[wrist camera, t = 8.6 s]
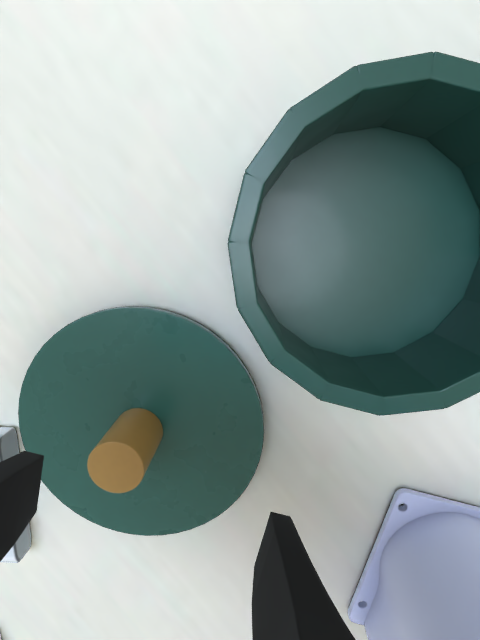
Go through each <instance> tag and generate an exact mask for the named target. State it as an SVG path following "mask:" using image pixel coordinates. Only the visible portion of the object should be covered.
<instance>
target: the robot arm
mask: <svg viewBox="0 0 480 640" xmlns="http://www.w3.org/2000/svg"><path fill="white" fill-rule="evenodd" d="M43 460H44V455H40V454H36V453H32V452H28V451H23V452H21V453H19V454H17V455H14V456H12V457H10V458H8V459H6V460H4V461H1V462H0V561H1V560H2V559H3V558H4V557H5V555H6V554H7V553H8V552H9V551H10V549H11V548H12V547H13V546H14V544H15V543H16V541H17V540H18V538H19V537H20V535H21V534H22V533H23V531H24V530H25V528H26V527H27V525H28V523H29V522H30V520H31V519H32V517H33V516H34V514H35V513H36V510H37V503H38V496H39V489H40V482H41V475H42V468H43ZM402 503H403V504H404V505H403V506H401V507H398V506H399V504H402ZM360 601H362V602H360ZM348 616H349V619H350V620H351V621H352V622H354V623H357V624H361V625H364V626H365V630H366V634H367V637H368V640H480V507H476V506H472V505H469V504H465V503H461V502H457V501H453V500H449V499H445V498H442V497H438V496H434V495H430V494H426V493H422V492H418V491H415V490H411V489H407V488H401V489H399V490H397V491H396V493H395V494H394V497H393V499H392V502H391V504H390V507H389V509H388V512H387V514H386V517H385V519H384V522H383V524H382V527H381V529H380V531H379V534H378V536H377V539H376V541H375V544H374V546H373V549H372V551H371V554H370V556H369V559H368V561H367V564H366V566H365V569H364V571H363V574H362V576H361V579H360V581H359V584H358V586H357V589H356V591H355V594H354V596H353V598H352V601H351V603H350V606H349V608H348ZM252 632H253V640H355V638H354V637H353V635H352V634H351V632H350V631H349V629H348V627H347V626H346V624H345V622H344V621H343V619H342V618H341V616H340V614H339V612H338V611H337V609H336V607H335V605H334V604H333V602H332V600H331V598H330V597H329V595H328V593H327V591H326V589H325V587H324V586H323V584H322V582H321V580H320V578H319V576H318V574H317V572H316V570H315V568H314V566H313V564H312V562H311V560H310V558H309V556H308V554H307V552H306V550H305V547H304V545H303V543H302V541H301V539H300V537H299V534H298V532H297V530H296V528H295V525H294V523H293V521H292V519H291V517H290V516H286V515H282V514H278V513H274V512H271V513H270V516H269V519H268V523H267V526H266V529H265V533H264V536H263V539H262V542H261V546H260V549H259V552H258V556H257V559H256V562H255V566H254V579H253V593H252Z"/></svg>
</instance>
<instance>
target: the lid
mask: <svg viewBox="0 0 480 640" xmlns="http://www.w3.org/2000/svg"><path fill="white" fill-rule="evenodd" d="M18 415H19V427H20V432H21V437H22V441H23V445H24V447H25V450H26V451H28V452H32V453H36V454H40V455H44V460H43V468H42V475H41V480H42V482H43V483H44V484H45V485H46V486H47V488H48V489H49V490H50V491H51V492H52V493H53V494H54V495H55V496H56V497H57V498H58V499H59V500H60V501H61V502H62V503H63V504H65V505H66V506H67V507H69V508H70V509H71V510H73V511H74V512H75V513H77V514H79V515H80V516H82V517H84V518H86V519H87V520H89V521H91V522H93V523H96V524H98V525H100V526H103V527H105V528H109V529H112V530H115V531H118V532H123V533H128V534H135V535H146V536H150V535H167V534H174V533H179V532H183V531H186V530H190V529H193V528H195V527H198V526H200V525H203V524H205V523H207V522H208V521H210V520H212V519H214V518H216V517H217V516H219V515H220V514H221V513H222V512H224V511H225V510H226V509H228V508H229V507H230V506H231V505H232V504H233V503H234V502H235V501H236V500H237V499H238V498H239V497H240V495H241V494H242V493H243V491H244V490H245V489H246V488H247V486H248V484H249V483H250V481H251V479H252V477H253V475H254V474H255V471H256V468H257V466H258V463H259V460H260V456H261V452H262V447H263V436H264V424H263V412H262V407H261V402H260V398H259V395H258V392H257V389H256V387H255V384H254V382H253V380H252V378H251V376H250V374H249V372H248V370H247V369H246V367H245V366H244V364H243V363H242V361H241V360H240V359H239V357H238V356H237V355H236V354H235V353H234V351H233V350H232V349H231V348H230V347H229V346H228V345H227V344H226V343H225V342H224V341H223V340H221V339H220V338H219V337H218V336H217V335H215V334H214V333H213V332H212V331H210V330H208V329H207V328H205V327H204V326H202V325H201V324H199V323H197V322H195V321H193V320H191V319H189V318H187V317H185V316H182V315H179V314H176V313H173V312H170V311H167V310H162V309H157V308H151V307H138V306H129V307H116V308H111V309H106V310H101V311H98V312H95V313H92V314H90V315H87V316H84V317H82V318H80V319H78V320H76V321H74V322H72V323H70V324H68V325H67V326H65V327H64V328H63V329H61V330H60V331H58V332H57V333H56V334H54V335H53V336H52V337H51V338H50V339H49V340H48V341H47V342H46V343H45V344H44V345H43V347H42V348H41V349H40V351H39V352H38V353H37V355H36V356H35V357H34V359H33V361H32V363H31V365H30V366H29V368H28V370H27V373H26V376H25V378H24V381H23V384H22V388H21V393H20V398H19V412H18Z"/></svg>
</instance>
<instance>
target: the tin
mask: <svg viewBox="0 0 480 640" xmlns="http://www.w3.org/2000/svg"><path fill="white" fill-rule="evenodd" d="M228 250H229V257H230V264H231V271H232V278H233V284H234V291H235V298H236V305H237V308H238V311H239V312H240V314H241V316H242V318H243V319H244V321H245V323H246V324H247V326H248V328H249V329H250V331H251V333H252V334H253V336H254V338H255V339H256V341H257V343H258V344H259V346H260V348H261V349H262V351H263V353H264V354H265V356H266V358H267V359H268V361H269V362H270V363H271V364H272V365H273V366H274V367H276V368H277V369H278V370H280V371H281V372H283V373H284V374H285V375H287V376H288V377H289V378H291V379H292V380H293V381H295V382H296V383H297V384H299V385H300V386H301V387H303V388H304V389H306V390H307V391H308V392H310V393H311V394H312V395H314V396H315V397H316V398H318V399H320V400H322V401H325V402H329V403H333V404H337V405H341V406H345V407H348V408H352V409H356V410H360V411H364V412H368V413H371V414H375V415H379V416H380V415H391V414H400V413H409V412H419V411H428V410H438V409H444V408H448V407H450V406H452V405H454V404H456V403H458V402H460V401H462V400H465V399H467V398H469V397H471V396H473V395H475V394H477V393H479V392H480V63H477V62H473V61H469V60H466V59H462V58H458V57H455V56H451V55H447V54H443V53H440V52H434V53H433V52H428V53H423V54H417V55H411V56H406V57H400V58H395V59H389V60H383V61H378V62H372V63H367V64H361V65H358V66H354V67H352V68H351V69H349V70H348V71H346V72H345V73H343V74H341V75H340V76H338V77H337V78H335V79H334V80H332V81H331V82H329V83H328V84H326V85H325V86H323V87H322V88H320V89H318V90H317V91H315V92H314V93H312V94H311V95H309V96H308V97H306V98H305V99H303V100H302V101H300V102H299V103H297V104H296V105H294V106H292V107H291V108H290V109H289V110H288V111H287V112H286V113H285V115H284V116H283V118H282V119H281V121H280V122H279V123H278V125H277V126H276V128H275V129H274V131H273V132H272V133H271V135H270V136H269V138H268V139H267V140H266V142H265V143H264V145H263V146H262V148H261V149H260V150H259V152H258V153H257V155H256V156H255V157H254V159H253V160H252V162H251V163H250V165H249V166H248V167H247V169H246V170H245V174H244V176H243V180H242V184H241V189H240V193H239V197H238V201H237V205H236V209H235V213H234V217H233V221H232V225H231V230H230V234H229V238H228Z"/></svg>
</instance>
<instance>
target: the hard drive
mask: <svg viewBox="0 0 480 640" xmlns="http://www.w3.org/2000/svg"><path fill="white" fill-rule="evenodd" d="M17 454H19V447H18V440H17V433H16V431H15V429H14V428H13V427H0V462H1V461H4V460H6V459H8V458H10V457H12V456H14V455H17ZM30 547H31V533H30V524H29V523H28V525H27V527H26V528H25V530H24V531H23V533H22V534H21V535H20V537H19V538H18V540H17V541H16V543H15V544H14V546H13V547H12V548H11V549H10V551H9V552H8V553H7V554H6V555H5V557H4V558H3V559H2V560H1V561H0V562H14V563H18V562H19V561H20V560H21V559H22V558H23V557H24V555H25V554H26V553H27V551H28V550H29V548H30Z"/></svg>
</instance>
